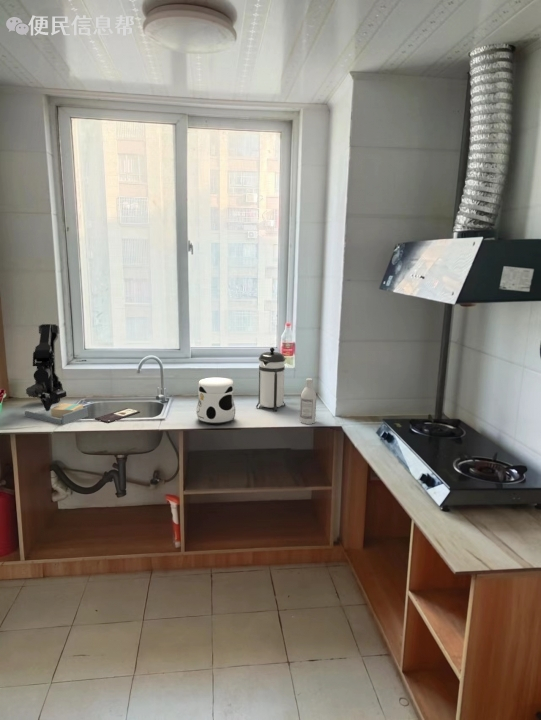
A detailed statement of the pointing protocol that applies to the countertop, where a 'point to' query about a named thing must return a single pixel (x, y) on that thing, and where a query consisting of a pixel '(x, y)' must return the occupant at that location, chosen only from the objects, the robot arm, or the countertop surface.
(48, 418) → the grey tray
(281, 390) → the coffee press
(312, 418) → the bath foam
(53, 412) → the carton
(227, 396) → the milk container
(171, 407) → the countertop surface
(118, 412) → the chocolate bar
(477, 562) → the countertop surface
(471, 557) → the countertop surface
